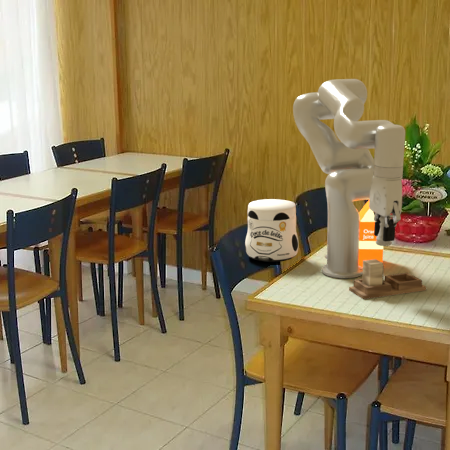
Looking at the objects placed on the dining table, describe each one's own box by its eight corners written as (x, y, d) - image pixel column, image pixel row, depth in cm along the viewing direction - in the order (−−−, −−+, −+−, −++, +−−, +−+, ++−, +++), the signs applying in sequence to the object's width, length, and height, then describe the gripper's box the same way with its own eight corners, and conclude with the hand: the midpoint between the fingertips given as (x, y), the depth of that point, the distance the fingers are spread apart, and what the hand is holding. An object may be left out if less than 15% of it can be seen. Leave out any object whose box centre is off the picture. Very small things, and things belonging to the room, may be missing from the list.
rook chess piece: (390, 241, 198) (392, 213, 196) (393, 246, 194) (395, 217, 192) (373, 241, 198) (375, 213, 196) (376, 246, 194) (378, 217, 192)
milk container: (254, 268, 226) (254, 212, 221) (238, 253, 242) (238, 200, 237) (306, 263, 230) (307, 207, 225) (287, 248, 246) (287, 196, 242)
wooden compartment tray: (349, 290, 204) (349, 259, 202) (409, 281, 211) (411, 252, 209) (363, 299, 197) (364, 267, 195) (426, 290, 204) (427, 259, 201)
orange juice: (379, 259, 232) (382, 198, 227) (382, 267, 224) (385, 204, 219) (355, 259, 233) (356, 198, 228) (357, 267, 225) (359, 204, 220)
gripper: (360, 166, 197) (357, 230, 202) (390, 179, 182) (386, 248, 187) (385, 164, 199) (381, 228, 204) (417, 177, 184) (412, 246, 189)
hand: (384, 237), depth 196 cm, fingers closed on rook chess piece, 4 cm apart
